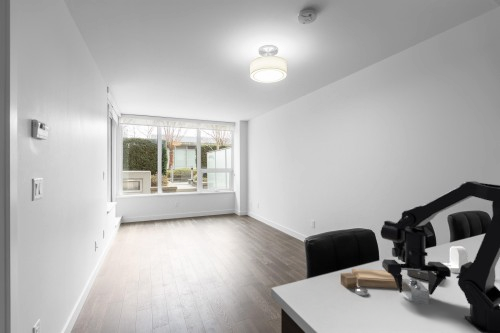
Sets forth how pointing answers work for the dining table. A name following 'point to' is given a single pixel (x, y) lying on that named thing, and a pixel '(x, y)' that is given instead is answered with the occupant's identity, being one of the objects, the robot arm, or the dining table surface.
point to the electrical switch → (415, 274)
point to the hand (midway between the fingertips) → (415, 293)
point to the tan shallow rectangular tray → (374, 278)
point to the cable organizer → (457, 258)
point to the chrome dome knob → (361, 291)
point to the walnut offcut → (348, 280)
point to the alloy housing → (415, 291)
